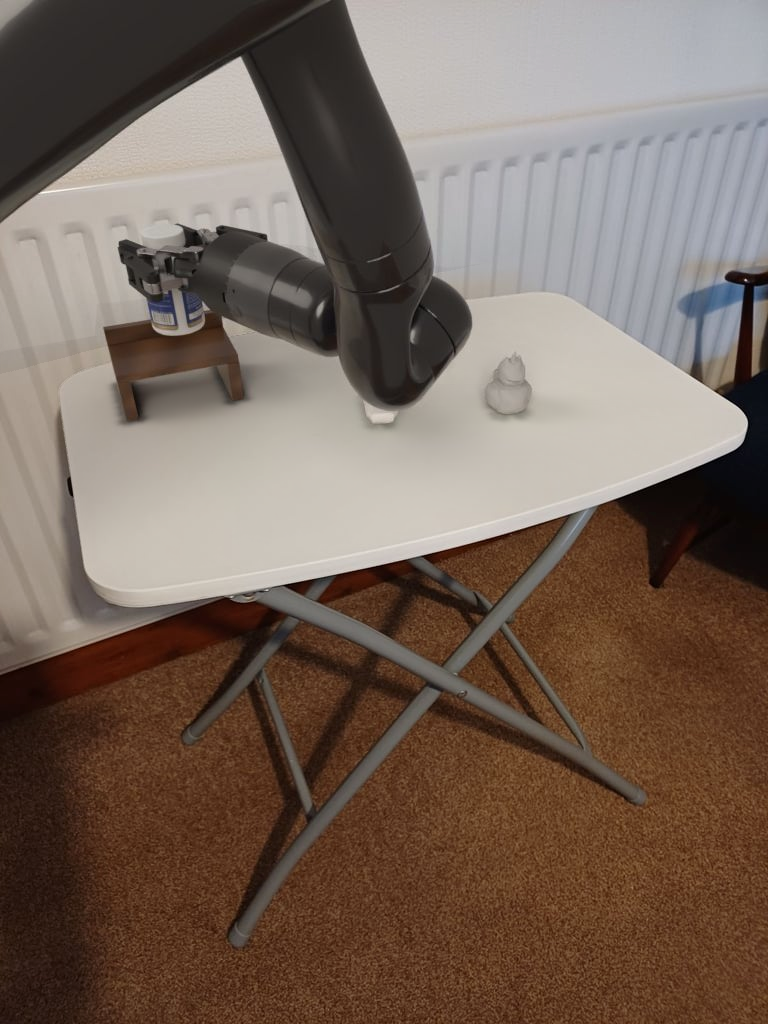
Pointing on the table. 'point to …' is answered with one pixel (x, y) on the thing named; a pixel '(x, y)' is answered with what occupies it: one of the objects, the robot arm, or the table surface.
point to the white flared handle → (379, 414)
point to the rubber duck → (509, 387)
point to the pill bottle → (177, 307)
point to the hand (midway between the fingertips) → (149, 242)
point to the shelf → (170, 355)
